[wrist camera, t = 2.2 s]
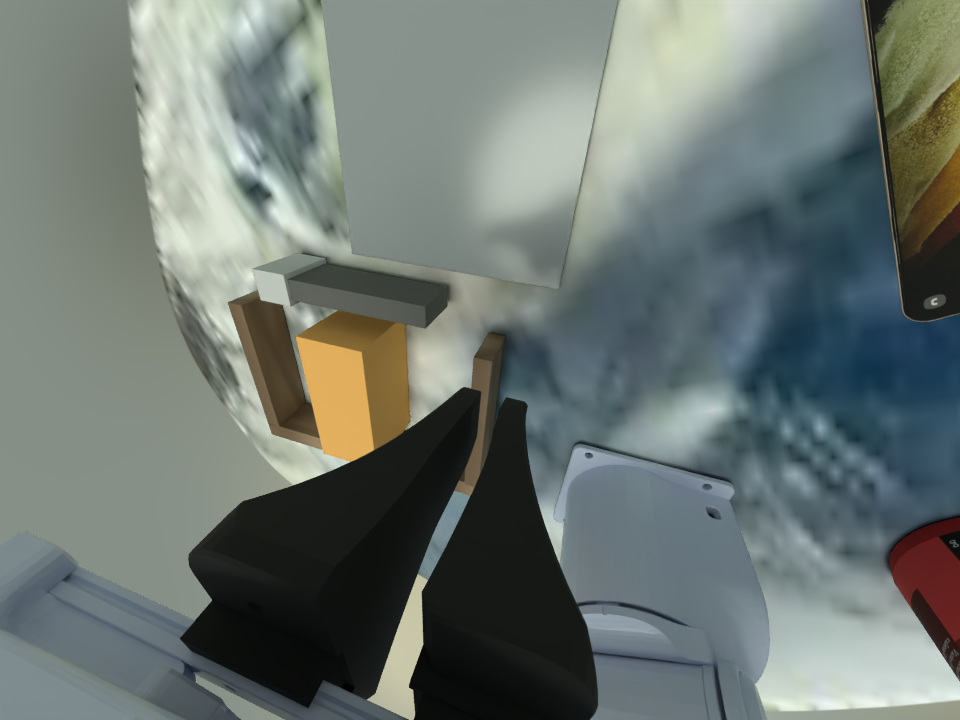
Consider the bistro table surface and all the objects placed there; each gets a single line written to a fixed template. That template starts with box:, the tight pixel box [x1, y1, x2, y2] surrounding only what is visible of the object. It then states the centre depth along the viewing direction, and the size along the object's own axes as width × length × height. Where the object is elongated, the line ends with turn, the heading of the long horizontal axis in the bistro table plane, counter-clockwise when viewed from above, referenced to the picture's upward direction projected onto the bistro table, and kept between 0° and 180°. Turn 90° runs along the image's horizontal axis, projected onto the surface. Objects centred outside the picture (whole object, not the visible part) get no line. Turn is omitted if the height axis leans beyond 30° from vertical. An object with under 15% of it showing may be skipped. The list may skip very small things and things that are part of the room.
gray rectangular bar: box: [252, 253, 448, 329], centre depth 20 cm, size 10×2×3 cm, turn 86°
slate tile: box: [321, 0, 618, 289], centre depth 16 cm, size 12×12×1 cm
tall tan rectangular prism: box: [296, 310, 410, 462], centre depth 23 cm, size 4×9×5 cm, turn 176°
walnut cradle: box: [228, 290, 505, 496], centre depth 24 cm, size 17×11×3 cm, turn 86°
